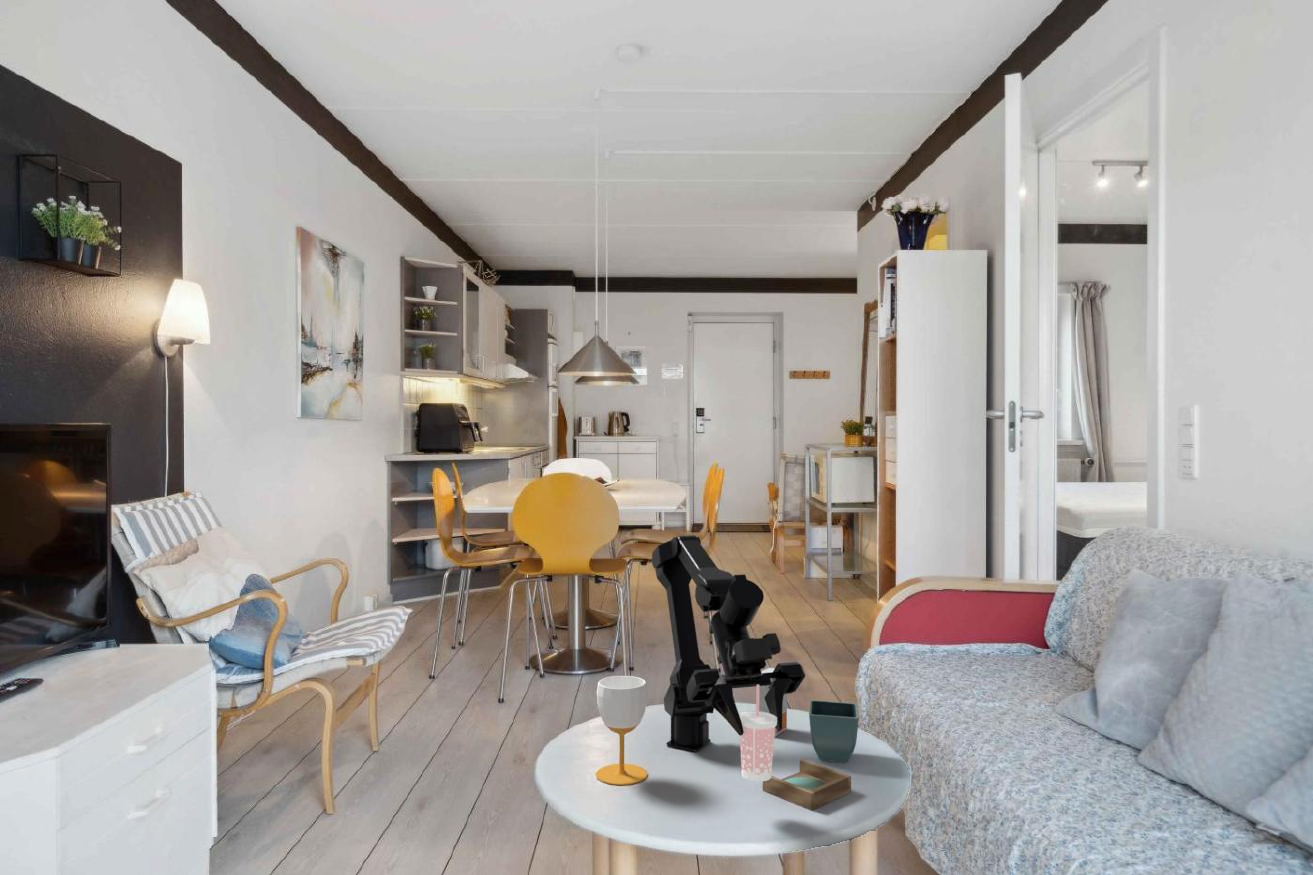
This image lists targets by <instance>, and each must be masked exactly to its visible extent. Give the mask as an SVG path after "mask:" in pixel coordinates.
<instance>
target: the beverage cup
mask: <svg viewBox="0 0 1313 875" xmlns="http://www.w3.org/2000/svg"><path fill="white" fill-rule="evenodd" d="M759 687H760V685H758V684H757V686H755V688H756V691H755V692H756V693H755V696H756V698H755V699H756V700H755V710H749V711H743V712H740V713H739V716H740V719H741V722H742V726H743V731H744V733H743V735H742V736H740V735H739V741H740V742H739V743H740V744H739V746H740V765H741V771H740V772H741V777H742V778H743V779H745V780H747V781H751V782H757V783H760V782H762V783H763V781H767V780H769V779H770V778H771V776H772V773H773V772H772V771H773V761H774V760H773V758H774V745H775V737H774V735H775V726H776V725H777V717H776V716H775V715H773V714H770V713H767V712H762V711H759Z"/></svg>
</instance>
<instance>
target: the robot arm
mask: <svg viewBox="0 0 1313 875" xmlns="http://www.w3.org/2000/svg"><path fill="white" fill-rule="evenodd" d="M651 564H652V566H653V567H652V568H653V569H654V570H655V575H656V579H657V581H658V582H659V583H660V584H661V586H663V588H664V589H665V591H666V597H667V603H668V604H667V606H668V612H669V620H670V621H669V622H670V626H671V627H670V628H671V633H672V634H671V635H672V641H673V642H672V643H673V650H674V657H675V665H674V666H673V669H672V672H671V674H670V676H669V685H668V688H667V690H666V692H665V695H664V697H663V706H664V708H663V709H664V711H665V712H666V713H667V714H668V715H669V716H670V740H668V741H667V742H666V746H667V747H671V748H676V749H680V750H686V751H689V752H694V753H695V752H698V751H699V750H701V749H702V748H703V747H705V746H707V745H708V744H710V743H711V741H712V740H711V739H710V738H709V737H710V722H709V721H708V717H707V714H713V713H714V711H716V712H718V713H719V714H720V715H721V716H722V717H723V718H724V719H725V720H726V722H727V723H728V724H729V725H730V727H732V729H733V730H734V731H735V732H736V733H737V735H738V736H739V737H740V736H742V735H743V733H744V731H743V726H742V722H741V719H740V716H739V714H740V713H739V711H738V708H737V704H736V701H735V699H734V694H733V693H734V691H733V690H734V689H743V688H753V687H754V688H755V687H756V686H757V684H758V685H760V686H765V687H766V689H767V694H766V696H765V698H764V699H765V701H766V704H767V707H768V709H769V712H770V714H773V715H775V716H776V717H777V725H776V726H775V727H776V729H777V731H778V732H779V731H781V729H782V706H783V696H784V694H787V695H788V694H793V693H796V691H797V689H799V686H800V685H801V683H802V682H803V680H804V679H805V678H806V672H805V670H804V668H803V666H802V664H800V663H799V662H797V661H792V662H781V663H780V662H779V663H777V664H776V666H775V667H774V668H775V669H774V671H773V672H770V673H761V672H762V671H761V670H762V669H763V670H764V669H765V668H766V666H767V663H766V661H767V660H772V659H773V656H776V655H777V654H778V655H779V654H780V653H781V650H782V648H781V643H780V640H779V637H778V634H777V633H776V632H775V633H773V632H772V633H766V634H764V635H762V637H761V638H760V637H759V638H754V637H750V633H749V630H748V626H750V625H751V623H752V622H753V620H754V619H755V617H756V615H757V613H758V611H759V610H760V608H761V605H762V604H763V601H764V592H763V589H761V588H760V586H759V585H758V584H756V583H755V582H754V581H751V580H749V579H747V577H746V576H747V575H746V574H745V573H744V574H732V573H730V572H729V571H726V570H722V569H720V568H719V567H718V566H717V565H716V563H715V562H714V561H713V559H712V558H711V557H710V554H708V553H707V551H706V550H705V548H704V547H703V545H702V542H701V538H700V537H699V536H696V535H694V534H693V535H689V534H688V535H676V536H674V537H673V538H671V540H668V541H666V542H664V543H660V544H658V545H657V547H656V548H655V549H654V550H653V551H652V554H651ZM692 581H693V582H694V584H695V586H696V587H695V591H694V593H695V595H694V597H695V602H696V605H697V606H699V608H700V610H701V611H702V612H704V613H706V612H707V613H708V612H715V613H714V614H713V616H712V617H711V619H710V620H709V622H710V625H709V634H710V635H711V634H712V635H713V638H714V642H715V644H716V648H717V651H718V656H717V657H716V658H717V662H718V664H719V665H720V664H721V665H722V668H723V671H724V674H720V673H719V670H718V669H717V668H712V667H711V666H710V664H705V663H704V661H703V660H702V658H701V656H700V651H699V643H698V638H697V631H696V624H695V615H694V609H693V603H692V602H693V600H692V595H691V588H690V584H691V582H692Z"/></svg>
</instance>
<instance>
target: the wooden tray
mask: <svg viewBox="0 0 1313 875" xmlns="http://www.w3.org/2000/svg"><path fill="white" fill-rule="evenodd" d="M762 791H763V792H765V793H767V794H770V795H773V796H775V797H776V798H777V797H778V798H780V799H782V800H784V801H787V802H789V803H791V804H792V803H793V804H795V805H797V806H798V807H799V806H800V807H803V808H804V809H807V810H809V811H814V810H815V809H818V808H819V807H821V806H824V805H826V804H828V803H831V802H833V801H835V800H838V799H839V798H841V797H844V796H846V795H847V794H850V793H851V792H852V776H851V775H849V774H846V773H844V772H840V771H838V770H835V769H833V768H829V767H827V766H824V765H820V764H818V763H815V762H813V761H810V760H806V759H805V758H801V759H799V771H798V772H796V773H793V774H791V775H788V776H786V777H784V778H779V777H776V776H773V775H771V778H770V779H769V780H767V781H762Z"/></svg>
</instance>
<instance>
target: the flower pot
mask: <svg viewBox="0 0 1313 875" xmlns="http://www.w3.org/2000/svg"><path fill="white" fill-rule="evenodd" d="M858 709H859V707H858V704H857V703H853V702H840V701H829V700H816V699H815V700H814V699H812V700H809V710H808V711H809V712H808V715H809V716H808V717H809V727H810V728H809V729H810V738H811V743H812V747H813V751H814V752H815V753H816V756H817V758H818V759H819V760H820V761H828V762H840V763H847V762H848V761H850V759H851V757H852V755H853V753H854V751H855V749H856V744H857V738H858V732H859V731H858V730H859V719H860V716H859V710H858Z"/></svg>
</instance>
